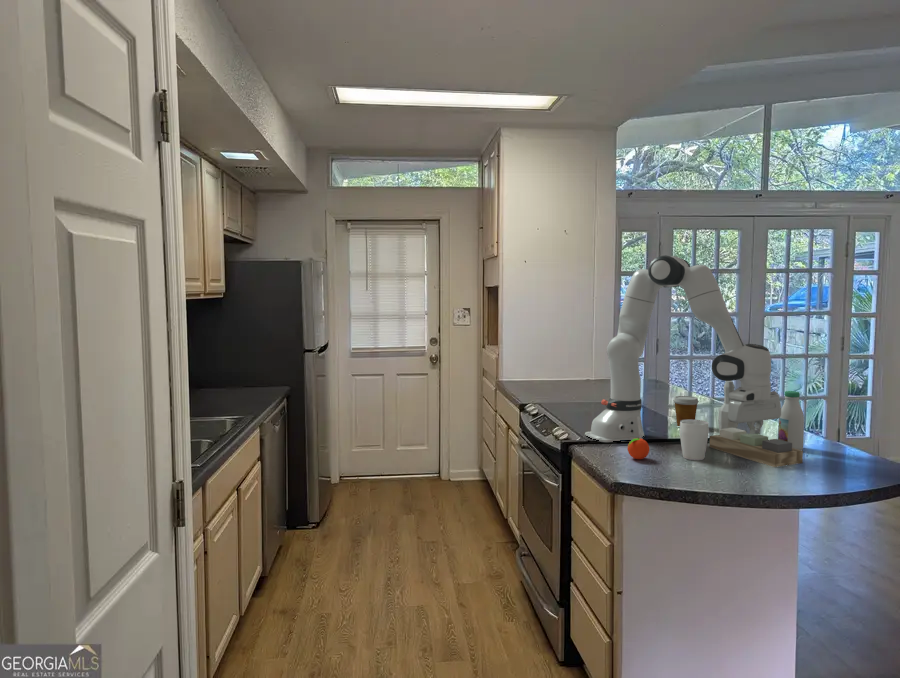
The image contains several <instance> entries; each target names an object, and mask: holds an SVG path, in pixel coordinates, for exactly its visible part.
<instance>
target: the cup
mask: <svg viewBox="0 0 900 678" xmlns="http://www.w3.org/2000/svg"><path fill="white" fill-rule="evenodd" d="M709 427H710V426H709V422H708V421H706V420H702V419H695V420H693V419H687V420H681V421H680V428H679V439H680V444H681V453H682V457H683V459H686V460H689V461H703V460H704V459H705V455H706V450H707V446H708V445H707V444H708V439H709V434H710V433H709V432H710V430H709Z"/></svg>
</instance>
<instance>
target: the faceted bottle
mask: <svg viewBox="0 0 900 678" xmlns="http://www.w3.org/2000/svg"><path fill="white" fill-rule="evenodd" d="M734 390H735V383H734V380H733V381H724V385H723V394H724V395H723V397H724V398H723V399H724V400H723V401H724V402H723V404H722V405H721V406H720V408H718V419H717V420H718V428H719V431H720V429H725V428H736V429H739V428H738V427H739V423H733V422H730V420H729V418H728V408H729V402H730V401H731V400H732V399H730V398H729V393H730V392H732V391H734Z"/></svg>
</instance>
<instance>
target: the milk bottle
mask: <svg viewBox="0 0 900 678" xmlns="http://www.w3.org/2000/svg"><path fill="white" fill-rule="evenodd" d="M800 393H801V392H799V391H796V390H786V391H784V398H785V399H784V402H783V405H781V417H780V418H779V419H778V428H777V429H778V430H777V431H778V434H777V439H779V440H783V441H787V442H791V443H792V448H795V449H798V450H802V451H803V449H804V435H805V434H804V433H805V432H804V431H805V425H804V424H805V416H804V415H805V414H804V412H803V409H802V407H801V404H800V396H801V394H800Z"/></svg>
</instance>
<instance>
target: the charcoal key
mask: <svg viewBox="0 0 900 678" xmlns="http://www.w3.org/2000/svg"><path fill="white" fill-rule="evenodd" d="M762 449H766V450H770V451H773V452H777V453H781V452H788V451H792V443H791V442H787V441H783V440H779V439H778V438H771V439H768V440H763V441H762Z"/></svg>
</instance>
